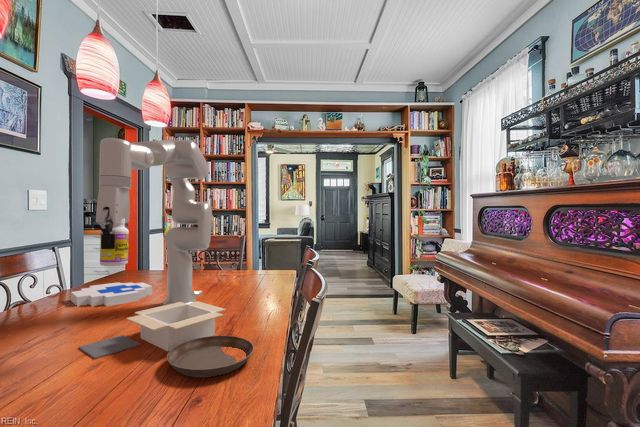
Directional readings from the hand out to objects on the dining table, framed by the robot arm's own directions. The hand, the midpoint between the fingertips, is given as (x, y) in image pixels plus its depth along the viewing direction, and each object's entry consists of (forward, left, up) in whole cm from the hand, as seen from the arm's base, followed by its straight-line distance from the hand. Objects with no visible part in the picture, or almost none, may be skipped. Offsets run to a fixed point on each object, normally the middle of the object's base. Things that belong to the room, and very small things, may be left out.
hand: (114, 247), depth 89 cm
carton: (-15, +8, -28) cm, 32 cm away
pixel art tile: (-23, -57, -28) cm, 68 cm away
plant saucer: (-11, +30, -28) cm, 42 cm away
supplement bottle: (0, 0, -5) cm, 5 cm away
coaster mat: (+1, 0, -28) cm, 28 cm away
